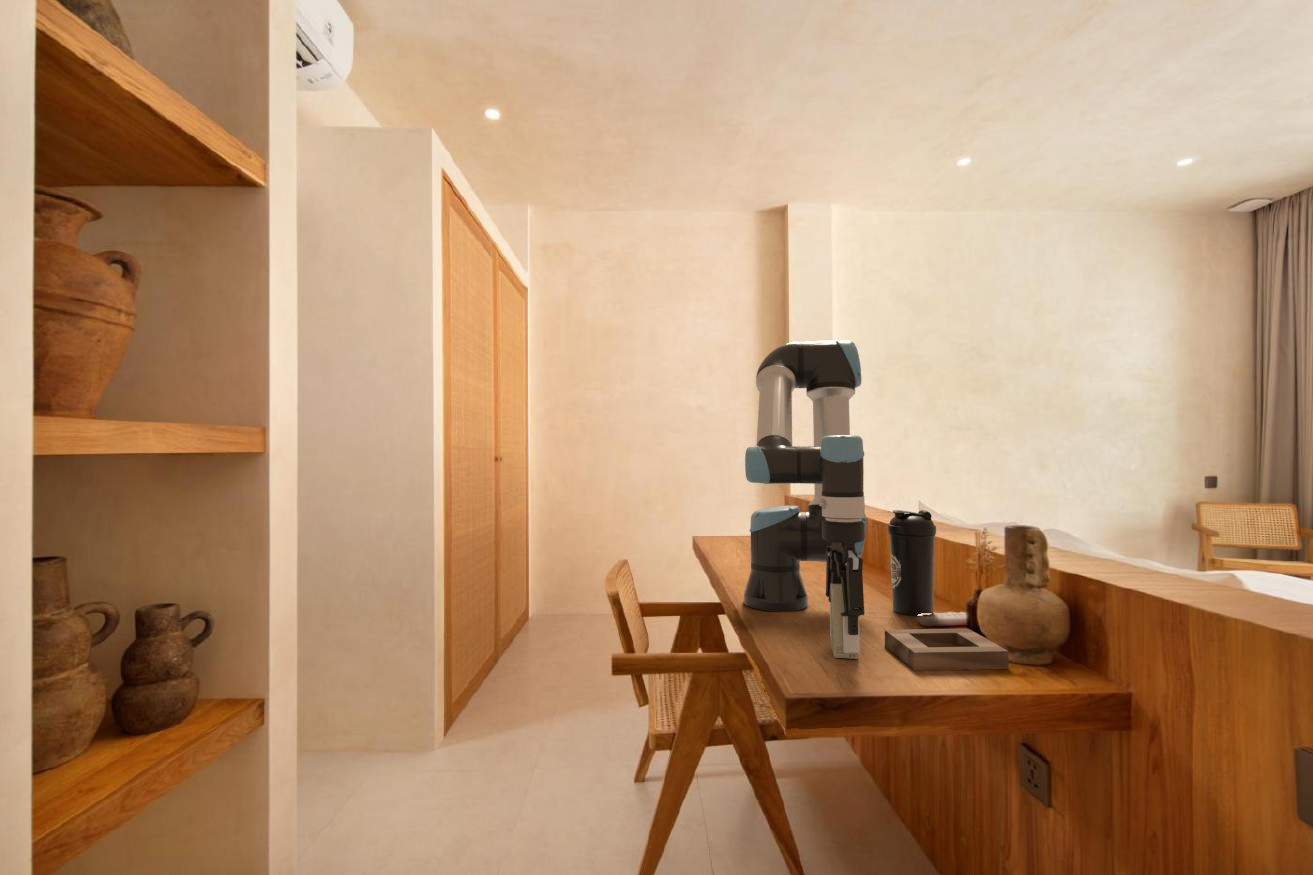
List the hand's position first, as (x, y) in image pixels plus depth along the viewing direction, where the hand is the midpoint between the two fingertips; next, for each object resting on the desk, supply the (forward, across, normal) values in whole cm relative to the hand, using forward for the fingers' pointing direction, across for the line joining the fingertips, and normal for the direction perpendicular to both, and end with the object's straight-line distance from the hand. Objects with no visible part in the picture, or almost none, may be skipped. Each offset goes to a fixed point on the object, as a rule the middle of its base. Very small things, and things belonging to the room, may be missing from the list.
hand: (844, 644), depth 113 cm
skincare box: (+2, 0, 0) cm, 2 cm away
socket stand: (+2, +2, +17) cm, 17 cm away
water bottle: (+2, -28, +25) cm, 37 cm away
